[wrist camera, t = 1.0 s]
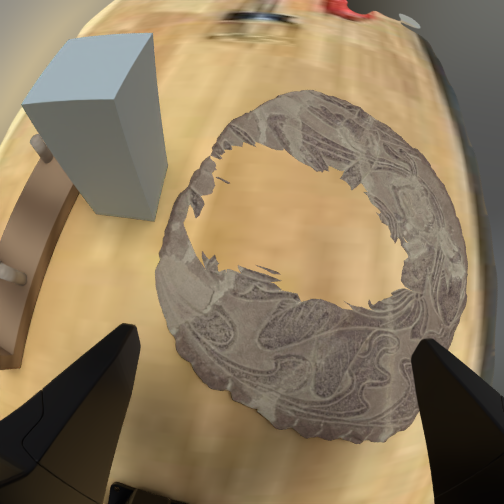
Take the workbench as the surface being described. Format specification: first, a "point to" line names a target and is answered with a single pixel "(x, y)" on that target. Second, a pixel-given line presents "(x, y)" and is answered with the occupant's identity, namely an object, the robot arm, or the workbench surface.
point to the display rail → (30, 248)
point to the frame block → (104, 121)
